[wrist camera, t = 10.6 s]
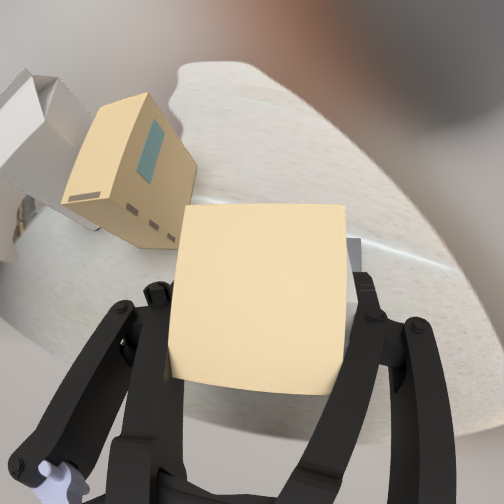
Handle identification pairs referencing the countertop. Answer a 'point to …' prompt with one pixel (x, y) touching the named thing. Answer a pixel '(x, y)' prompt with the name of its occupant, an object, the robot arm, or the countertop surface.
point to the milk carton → (42, 138)
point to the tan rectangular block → (260, 297)
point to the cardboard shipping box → (133, 175)
